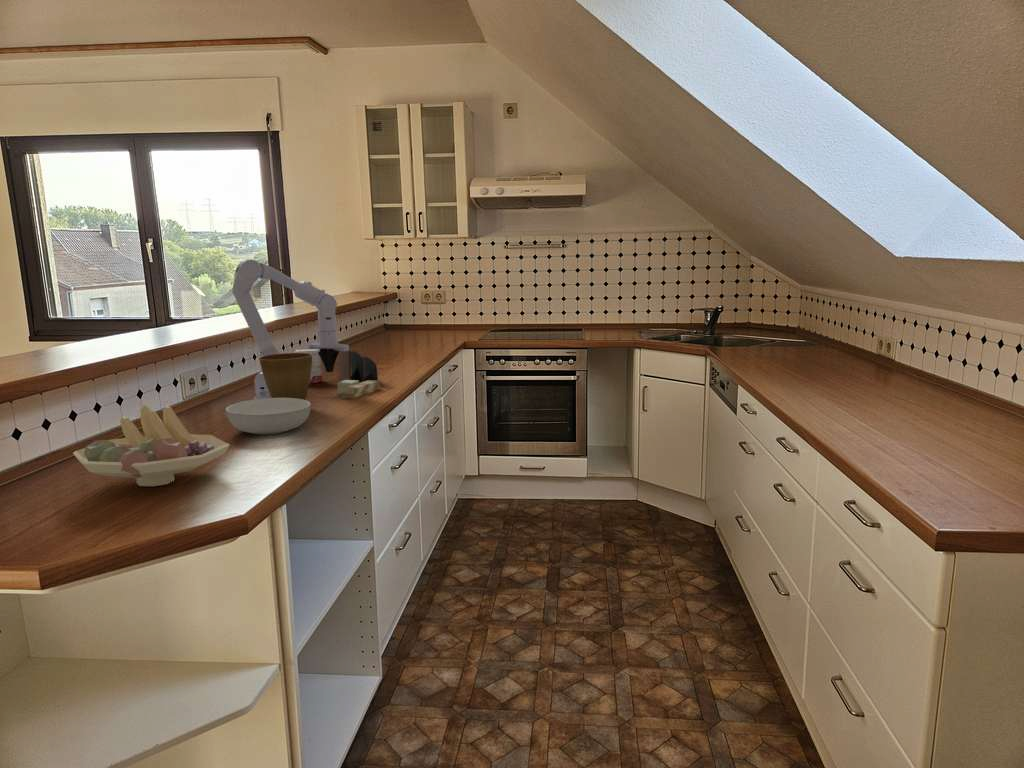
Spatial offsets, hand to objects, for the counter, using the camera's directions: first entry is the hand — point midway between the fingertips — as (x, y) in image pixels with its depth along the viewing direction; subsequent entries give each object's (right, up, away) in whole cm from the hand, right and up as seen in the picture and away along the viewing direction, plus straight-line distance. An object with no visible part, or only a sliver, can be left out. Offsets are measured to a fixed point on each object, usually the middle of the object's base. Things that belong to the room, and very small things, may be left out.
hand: (329, 371), depth 233 cm
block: (+7, -7, -1) cm, 10 cm away
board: (+11, -7, -3) cm, 13 cm away
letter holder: (+6, -4, +17) cm, 18 cm away
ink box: (-12, -4, +19) cm, 22 cm away
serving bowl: (-3, -17, -49) cm, 52 cm away
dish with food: (-12, -24, -90) cm, 94 cm away
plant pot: (-6, -12, -24) cm, 27 cm away
